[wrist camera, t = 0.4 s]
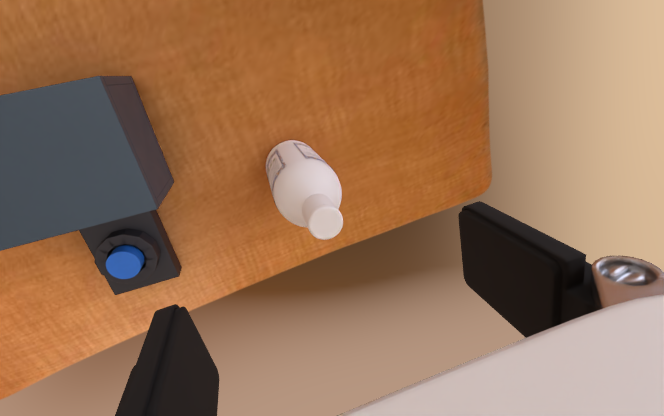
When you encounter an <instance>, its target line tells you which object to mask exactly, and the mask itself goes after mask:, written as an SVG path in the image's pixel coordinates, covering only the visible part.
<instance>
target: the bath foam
mask: <svg viewBox="0 0 664 416" xmlns="http://www.w3.org/2000/svg"><path fill="white" fill-rule="evenodd" d="M266 173H267V177H268V180H269V184H270V187H271V191H272V195H273V198H274V202H275V204H276V207H277V208H278V210H279V211H280V213H281V214H282V215H283V216H284V217H285V218H286V219H287V220H288V221H290V222H291V223H293V224H295V225H298V226H301V227H308V229H309V231H310V233H311V234H312V235H313V236H314V237H316V238H318V239H322V240H326V239H331V238H333V237H335V236H336V235H337V234H338V233H339V232H340V231H341V229H342V226H343V217H342V215H341V213H340V211H339V210H338V209H339V206H340V203H341V198H342V191H341V185H340V182H339V179H338V177H337V175H336V173H335V172H334V170H333V169H332V168H331V167H330V166H329V165H328V164H327V163H326V162H325V161H324V160H323V159H322V158H321V157H320V156H319V155H318V154H317V153H316V152H315V151H314V150H313V149H312V148H310V147H309V146H308V145H307V144H305V143H303V142H300V141H296V140H289V141H284V142H282V143H280V144H278V145H276V146H275V147H274V148H273V149H272V150H271V152H270V153H269V155H268V157H267V161H266Z"/></svg>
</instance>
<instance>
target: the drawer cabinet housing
mask: <svg viewBox="0 0 664 416" xmlns="http://www.w3.org/2000/svg"><path fill="white" fill-rule="evenodd" d="M173 183H174V181H173V178H172V176H171V173H170V171H169V168H168V166H167V163H166V161H165V158H164V156H163V153H162V151H161V148H160V146H159V143H158V141H157V138H156V136H155V134H154V131H153V129H152V126H151V124H150V121H149V119H148V116H147V114H146V111H145V109H144V106H143V104H142V101H141V99H140V96H139V94H138V91H137V89H136V87H135V84H134V82H133V79H132V77H131V76H96V77H91V78H86V79H81V80H76V81H71V82H66V83H61V84H56V85H51V86H46V87H41V88H36V89H31V90H26V91H21V92H16V93H11V94H6V95H1V96H0V251H1V250H5V249H8V248H12V247H16V246H20V245H24V244H27V243H31V242H35V241H39V240H43V239H46V238H50V237H54V236H58V235H62V234H65V233H69V232H73V231H77V230H80V229H84V228H88V227H92V226H96V225H99V224H103V223H107V222H111V221H115V220H118V219H122V218H126V217H130V216H133V215H137V214H141V213H145V212H149V211H152V210H156V209H158V208H159V206H160V204H161V203H162V201H163V200H164V198H165V196H166V195H167V193H168V191H169V190H170V188H171V187H172V185H173Z"/></svg>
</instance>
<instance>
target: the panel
mask: <svg viewBox="0 0 664 416" xmlns="http://www.w3.org/2000/svg"><path fill="white" fill-rule="evenodd" d="M79 231H80V233H81V235H82V236H83V238H84V240H85V242H86V244H87V245H88V247H89V249H90V251H91V253H92V254H93V256H94V258H95V264H96V265H97V267H98V269H99V271H100V272H101V274H102V275H104V276H105V278H106V279H107V281H108V283H109V285H110V287H111V288H112V290H113V292H114V294H115V295H117V294H121V293H124V292H128V291H131V290H134V289H138V288H141V287H144V286H148V285H151V284H155V283H158V282H161V281H165V280H168V279H171V278H175V277H178V276H179V275H180V271H181V265H180V263H179V261H178V259H177V256H176V254H175V252H174V250H173V247H172V245H171V243H170V241H169V238H168V236H167V234H166V232H165V229H164V227H163V225H162V222H161V220H160V218H159V216H158V213H157V211H156V210H152V211H149V212H145V213H141V214H137V215H133V216H130V217H126V218H122V219H118V220H115V221H111V222H107V223H103V224H99V225H96V226H92V227H88V228H84V229H80V230H79ZM123 245H131V246H134V247H136V248H138V249H139V250H140V251H141V252H142V253H143V255H144V264H143V266H142V268H141V270H140V271H139V273H138V274H137V275H136V276H134V277H132V278H129V279H119V278H116V277H114V276H112V275H111V274H110V273H109V272H108V271H107V269H106V261H107V259H108V257H109V256H110V254H111V253H112V252H113V250H114V249H116V248H117V247H119V246H123Z"/></svg>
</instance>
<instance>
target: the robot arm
mask: <svg viewBox="0 0 664 416" xmlns="http://www.w3.org/2000/svg"><path fill="white" fill-rule="evenodd" d="M459 226H460V239H461V249H462V262H463V272H464V279H465V281H466V283H467V285H468V286H469V287H470V288H471V289H473V290H474V291H475V292H476V293H477V294H478V295H479V296H480V297H481V298H482V299H484V300H485V301H486V302H487V303H488V304H489V305H490V306H491V307H492V308H494V309H495V310H496V311H497V312H498V313H499V314H500V315H502V317H504V318H505V319H506V320H507V321H508V322H509V323H510V324H511V325H512V326H514V327H515V328H516V329H517V330H518V331H519V332H520V333H521V334H522V335H524V336H525V337H526V338H525V339H522V340H520V341H517V342H515V343H513V344H510V345H507V346H505V347H502V348H500V349H497V350H495V351H493V352H490V353H488V354H485V355H483V356H480V357H478V358H475V359H473V360H470V361H468V362H465V363H463V364H461V365H458V366H456V367H453V368H451V369H448V370H446V371H443V372H441V373H439V374H436V375H434V376H431V377H429V378H427V379H424V380H422V381H419V382H417V383H414V384H412V385H410V386H407V387H405V388H402V389H400V390H397V391H395V392H393V393H390V394H388V395H386V396H383V397H380V398H378V399H376V400H373V401H371V402H368V403H366V404H364V405H361V406H359V407H357V408H354V409H352V410H349V411H347V412H344V413H342V414H340V415H337V416H664V272H662V270H661V269H660V268H658V267H657V266H655V265H653V264H652V263H649V262H647V261H644V260H642V259H637V258H634V257H628V256H607V257H602V258H600V259H598V260H596V261H595V262H594V263H593V264H592V265H591V264H589V263H587V262H586V261H585V259H586V255H585V254H583V253H582V252H580V251H578V250H576V249H574V248H572V247H570V246H568V245H566V244H564V243H562V242H560V241H558V240H556V239H554V238H552V237H550V236H548V235H546V234H544V233H542V232H540V231H538V230H536V229H534V228H532V227H530V226H528V225H526V224H524V223H522V222H520V221H518V220H516V219H514V218H512V217H511V216H509V215H507V214H504V213H502V212H501V211H499V210H497V209H495V208H493V207H491V206H489V205H487V204H485V203H483V202H480V201H479V202H476V203H473V204H470V205H467V206H464V207H463V208H462V212H460V213H459ZM218 390H219V374H218V370H217V368H216V366H215V364H214V362H213V360H212V358H211V356H210V354H209V352H208V350H207V348H206V346H205V344H204V342H203V340H202V339H201V336H200V334H199V332H198V330H197V328H196V326H195V325H194V323H193V321H192V319H191V317H190V315H189V313H188V311H187V309H186V308H185V307H181V308H179V306H178V305H176V304H175V305H172V306H169V307H166V308H163V309H160V310H157V311H156V312H155V314H154V316H153V319H152V322H151V325H150V327H149V330H148V333H147V336H146V339H145V341H144V344H143V347H142V350H141V353H140V355H139V358H138V361H137V363H136V365H135V366H134V367H133V369H132V371H131V374H130V376H129V379H128V382H127V384H126V388H125V390H124V393H123V395H122V398H121V401H120V403H119V406H118V409H117V412H116V414H115V416H217V405H218Z"/></svg>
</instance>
